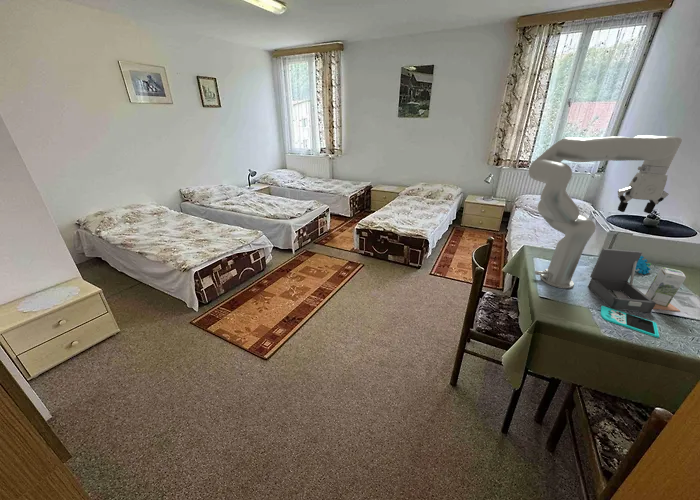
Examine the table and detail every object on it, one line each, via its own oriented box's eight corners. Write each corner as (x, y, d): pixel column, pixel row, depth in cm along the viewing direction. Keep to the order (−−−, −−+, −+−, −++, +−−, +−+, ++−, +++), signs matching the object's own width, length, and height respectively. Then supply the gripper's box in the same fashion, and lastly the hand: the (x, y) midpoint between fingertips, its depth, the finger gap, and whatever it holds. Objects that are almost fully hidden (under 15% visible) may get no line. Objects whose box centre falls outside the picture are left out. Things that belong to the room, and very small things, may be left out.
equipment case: (611, 309, 113) (632, 268, 105) (586, 285, 129) (602, 248, 121) (651, 313, 111) (676, 272, 103) (621, 288, 127) (640, 251, 118)
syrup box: (662, 300, 118) (680, 269, 112) (667, 307, 114) (687, 276, 107) (644, 295, 121) (661, 266, 114) (648, 303, 116) (666, 272, 110)
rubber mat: (650, 308, 114) (651, 307, 113) (632, 294, 122) (633, 293, 122) (679, 311, 112) (680, 310, 112) (659, 297, 121) (660, 296, 121)
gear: (638, 272, 136) (631, 253, 140) (624, 276, 142) (618, 257, 145) (656, 274, 138) (649, 255, 142) (642, 277, 144) (636, 258, 147)
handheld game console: (600, 307, 115) (601, 304, 114) (655, 324, 106) (656, 321, 105) (599, 319, 108) (601, 316, 107) (658, 339, 99) (660, 336, 98)
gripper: (635, 170, 109) (616, 213, 117) (687, 172, 107) (664, 216, 114) (622, 167, 116) (605, 207, 123) (671, 169, 113) (650, 210, 121)
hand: (633, 211), depth 119 cm, fingers open, 9 cm apart
